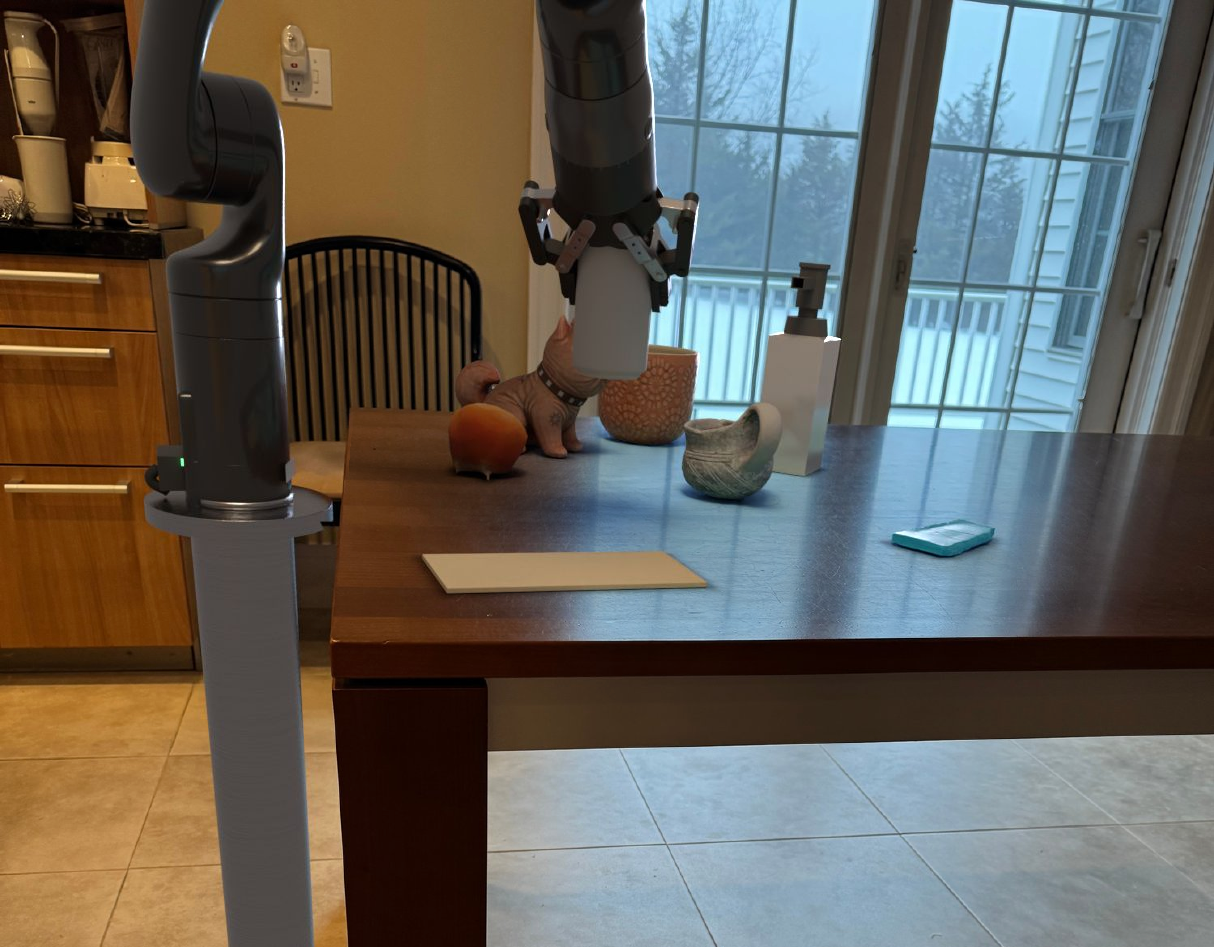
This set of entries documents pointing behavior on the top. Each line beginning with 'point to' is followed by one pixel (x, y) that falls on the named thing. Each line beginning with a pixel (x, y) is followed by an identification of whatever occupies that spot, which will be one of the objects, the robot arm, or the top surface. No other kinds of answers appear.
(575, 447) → the figurine
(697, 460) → the mug
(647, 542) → the top surface
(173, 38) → the robot arm
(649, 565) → the board
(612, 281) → the beverage can
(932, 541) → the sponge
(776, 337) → the soap dispenser
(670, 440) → the planter
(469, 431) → the fruit
